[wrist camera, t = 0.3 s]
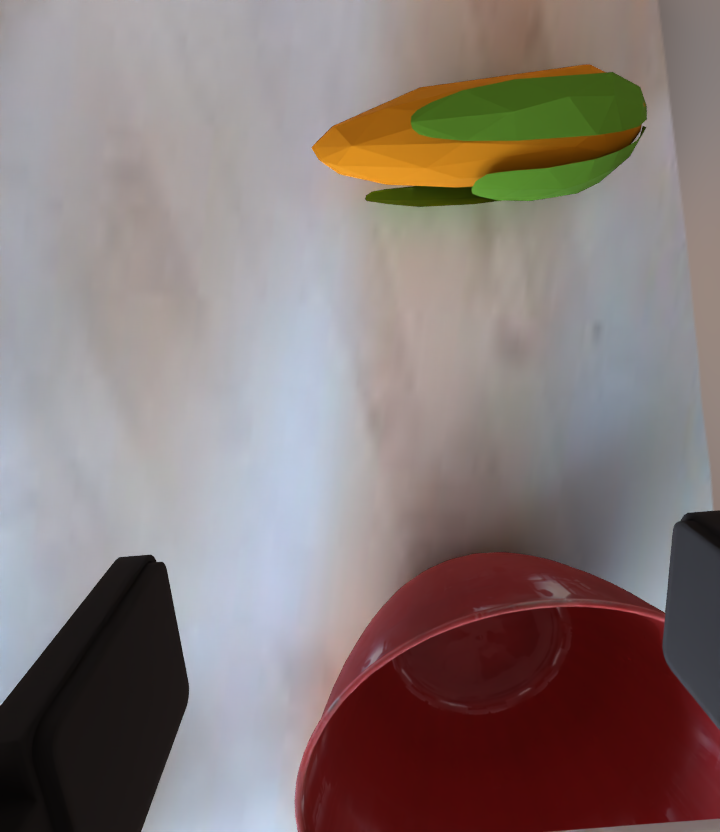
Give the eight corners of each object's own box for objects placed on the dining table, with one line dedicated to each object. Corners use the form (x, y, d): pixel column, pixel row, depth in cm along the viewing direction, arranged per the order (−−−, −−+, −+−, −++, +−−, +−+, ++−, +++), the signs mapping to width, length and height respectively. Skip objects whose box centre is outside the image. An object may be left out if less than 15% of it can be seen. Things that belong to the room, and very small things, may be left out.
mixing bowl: (634, 748, 50) (756, 953, 35) (330, 777, 50) (323, 995, 35) (650, 466, 42) (815, 576, 27) (291, 501, 42) (261, 630, 27)
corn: (680, 174, 29) (316, 212, 29) (613, 200, 37) (323, 230, 37) (683, 21, 28) (299, 61, 28) (612, 81, 35) (309, 113, 35)
